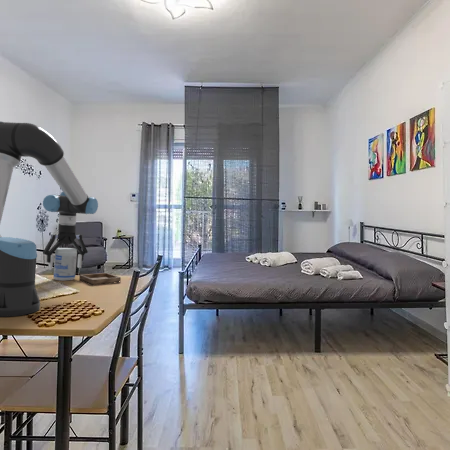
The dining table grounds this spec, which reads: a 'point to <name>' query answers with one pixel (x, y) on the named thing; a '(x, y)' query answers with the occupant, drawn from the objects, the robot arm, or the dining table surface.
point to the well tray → (99, 278)
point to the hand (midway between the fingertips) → (65, 268)
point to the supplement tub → (65, 264)
